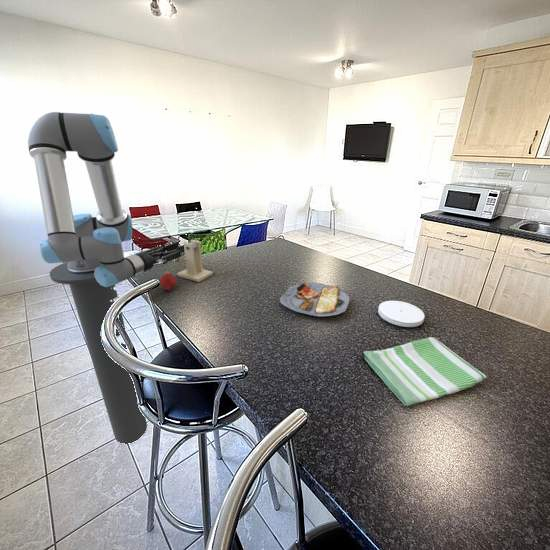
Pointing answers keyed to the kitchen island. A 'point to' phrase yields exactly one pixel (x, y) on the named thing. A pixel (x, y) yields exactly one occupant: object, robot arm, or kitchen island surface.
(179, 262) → the lever
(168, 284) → the onion
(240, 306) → the kitchen island surface
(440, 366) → the dish towel
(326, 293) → the food plate
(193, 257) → the bracket
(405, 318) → the plastic lid
